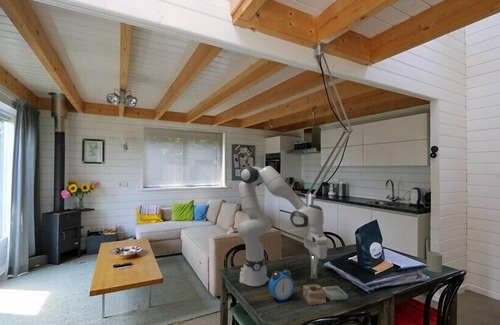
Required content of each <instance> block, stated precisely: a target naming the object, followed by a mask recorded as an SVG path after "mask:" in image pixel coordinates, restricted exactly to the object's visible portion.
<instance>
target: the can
mask: <svg viewBox="0 0 500 325" xmlns="http://www.w3.org/2000/svg"><path fill="white" fill-rule="evenodd" d="M427 266H428V267H427ZM426 267H427V268H426ZM426 267H425V268H426V270H427V271H430V272H433V273H438V274H439V273H440V274H441V273H443V254H442V253H440V252H437V251H429V250H428V251H426Z"/></svg>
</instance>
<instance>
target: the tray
mask: <svg viewBox="0 0 500 325" xmlns="http://www.w3.org/2000/svg"><path fill="white" fill-rule="evenodd" d="M321 288H322V289H323V290H324V291H325V292H326V298H327V299H329V301H331V302H333V301H332V300H334V301H341V300H348V299H349V298H348V294H347V292H346V291H344V290H343V289H342V288H341V287H339V286H338V285H334V286H333V285H332V286H324V287H323V286H322V287H321Z"/></svg>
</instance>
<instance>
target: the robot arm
mask: <svg viewBox="0 0 500 325" xmlns="http://www.w3.org/2000/svg"><path fill="white" fill-rule="evenodd" d="M239 179H240V180H241V181H240V182H239V184H238V196H239V202H240V205H241V206H240V207H241V211H242V212H243V213H245V214H246V215H247V216H248V217H249V219H246V220H242V222H239V224H238V225H237V234H238V236H239V237H240V238H241V239H242V240H243V242H244V244H245V258H244V264H243V267H240V272H239V283H240V284H243V285H247V286H249V287H250V286H251V287H260V286H263V285H265V284H266V283H267V282H269V281H270V277H268V276H267V270H268V269H267V266H266V265H265V257H264V255H265V254H264V252H265V251H264V248H265V247H264V245H263V244H262V242H260V240H259V237H260V236H262V235H265V234H266V235H267V233H268V232H270V231H271V229H272V222H271V219H269V218H268V217H267V216H266V215H265V214H264V212H263V211H262V209H261V207H260V204H259V199H258V196H257V192H256V187H259V186H260V185H261V184H264V185H265V187H266V189H268V191H269V192H270V194H271V195H273V196H274V197H277V198H282V199H285V200H287V201H288V202H289V203H290V204H291V205H292V206H293V208H294V209H295V210H294V211H292V212H291V214H290V216H289V219H290V222H291V225H293V226H294V227H296V228H306V232H305V235H304V239H303V246H304V248H306V249H307V250H308V252H309V257H310V260H311V252H312V253H313V254H314V255H315V259H314V262H315V263H317V264H318V263H319V260H325V259H327V257H328V245H327V244H328V242H329V241H328V240H329V239H328V238H327V236H326V235H325V233H324V222H325V221H324V211H323V208H322V207H321V206H319V205H316V204H306V203H305V202H304V201H303V199H302V198H301V197H300V196H299V195H298V194H297V193H296V191H295V190H293V189H292V188H291V187H290V186H289V185H288V183H287V182H286V180H284V178H283V177H282V176H281V175H280V173H279V172H278V171H277V170H276V169H275V168H274V167H273V166H271V165H268V166H264V167H260V166H245V167H243V168H242V169H241V170H240V172H239Z"/></svg>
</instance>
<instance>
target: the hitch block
mask: <svg viewBox="0 0 500 325" xmlns="http://www.w3.org/2000/svg"><path fill="white" fill-rule="evenodd" d="M302 297H303V298H304V299H305V301H306V302H307V304H309V306H317V305H316V304H318V305H324V304H323V303H326V304H327V296H326V292H325V291H324V290H323V289H322V287H321V286H320V285H319V284H318V283H317V284H306V285H303V286H302Z"/></svg>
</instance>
